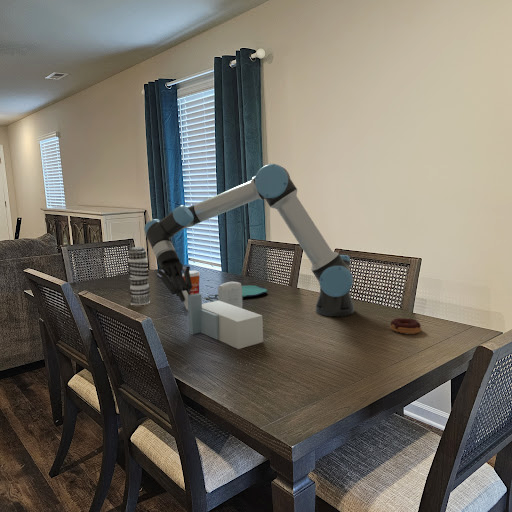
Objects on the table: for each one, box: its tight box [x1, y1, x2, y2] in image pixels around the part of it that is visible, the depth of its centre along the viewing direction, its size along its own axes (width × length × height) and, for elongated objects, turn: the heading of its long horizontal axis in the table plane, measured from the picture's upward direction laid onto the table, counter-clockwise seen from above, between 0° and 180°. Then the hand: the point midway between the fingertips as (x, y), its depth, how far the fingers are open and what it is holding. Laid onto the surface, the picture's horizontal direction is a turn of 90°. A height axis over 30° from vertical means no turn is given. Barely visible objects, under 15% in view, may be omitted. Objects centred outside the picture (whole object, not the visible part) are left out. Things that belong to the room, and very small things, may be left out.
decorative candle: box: [126, 246, 151, 306], centre depth 200 cm, size 9×9×25 cm
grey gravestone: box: [217, 281, 243, 309], centre depth 185 cm, size 10×4×12 cm, turn 123°
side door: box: [187, 293, 219, 341], centre depth 155 cm, size 12×4×13 cm, turn 37°
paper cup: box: [182, 270, 201, 295], centre depth 200 cm, size 8×8×14 cm
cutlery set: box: [201, 285, 268, 302], centre depth 213 cm, size 20×30×2 cm, turn 123°
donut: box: [390, 317, 422, 334], centre depth 158 cm, size 10×10×4 cm
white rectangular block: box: [202, 300, 264, 350], centre depth 156 cm, size 26×10×9 cm, turn 37°
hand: (190, 307), depth 160 cm, fingers closed
